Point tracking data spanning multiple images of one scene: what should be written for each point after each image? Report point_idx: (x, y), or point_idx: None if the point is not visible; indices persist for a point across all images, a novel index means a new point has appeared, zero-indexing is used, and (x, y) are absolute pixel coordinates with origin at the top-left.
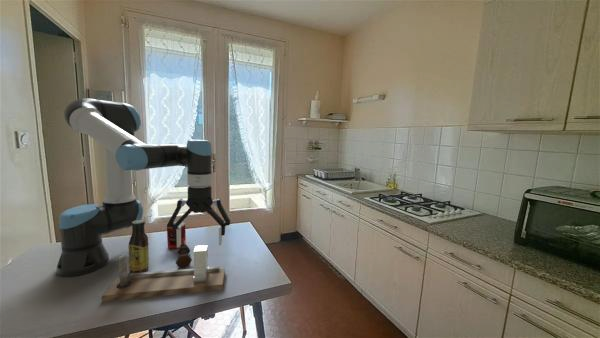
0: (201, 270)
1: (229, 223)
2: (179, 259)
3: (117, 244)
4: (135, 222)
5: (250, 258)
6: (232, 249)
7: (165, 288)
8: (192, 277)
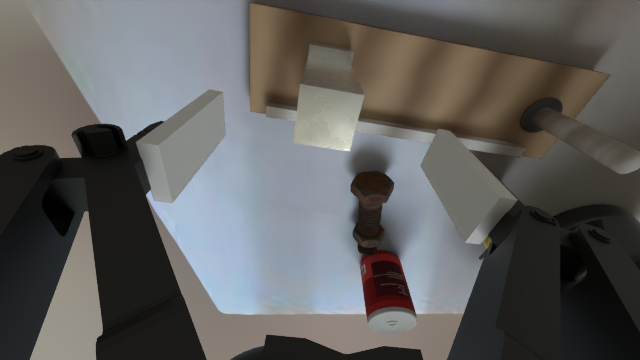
0: (324, 63)
1: (10, 155)
2: (386, 188)
3: None
4: None
5: None
6: (242, 220)
7: (439, 49)
8: None
